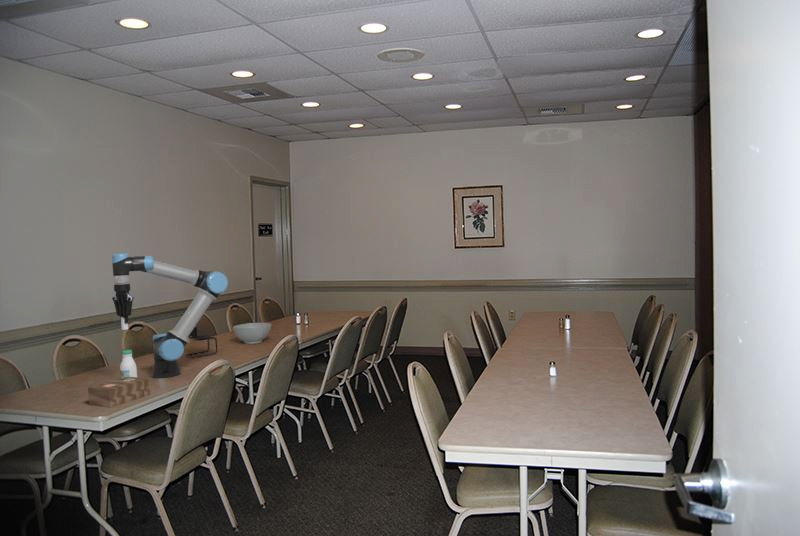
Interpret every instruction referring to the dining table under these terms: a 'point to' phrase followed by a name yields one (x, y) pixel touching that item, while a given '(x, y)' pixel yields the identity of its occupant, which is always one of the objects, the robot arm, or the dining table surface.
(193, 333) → the dark open wire frame
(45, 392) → the dining table surface
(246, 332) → the decorative bowl
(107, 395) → the walnut block
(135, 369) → the milk bottle
